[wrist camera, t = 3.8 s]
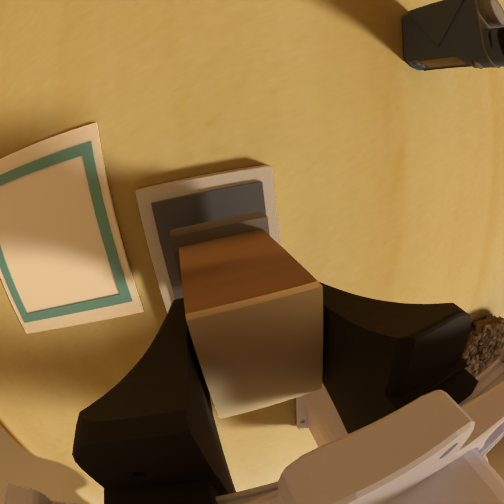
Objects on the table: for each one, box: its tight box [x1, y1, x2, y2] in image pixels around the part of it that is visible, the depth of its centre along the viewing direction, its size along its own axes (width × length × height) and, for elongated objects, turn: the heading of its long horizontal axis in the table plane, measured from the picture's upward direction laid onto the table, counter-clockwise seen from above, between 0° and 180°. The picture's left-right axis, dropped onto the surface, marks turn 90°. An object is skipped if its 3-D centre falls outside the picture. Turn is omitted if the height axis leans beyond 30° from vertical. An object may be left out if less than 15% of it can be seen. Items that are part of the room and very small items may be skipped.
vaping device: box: [402, 0, 504, 71], centre depth 9 cm, size 3×5×12 cm, turn 176°
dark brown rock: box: [462, 316, 504, 378], centre depth 28 cm, size 12×10×5 cm
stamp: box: [170, 211, 323, 419], centre depth 11 cm, size 5×4×6 cm
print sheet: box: [0, 123, 144, 334], centre depth 14 cm, size 11×9×1 cm
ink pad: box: [135, 164, 281, 313], centre depth 16 cm, size 9×7×1 cm
